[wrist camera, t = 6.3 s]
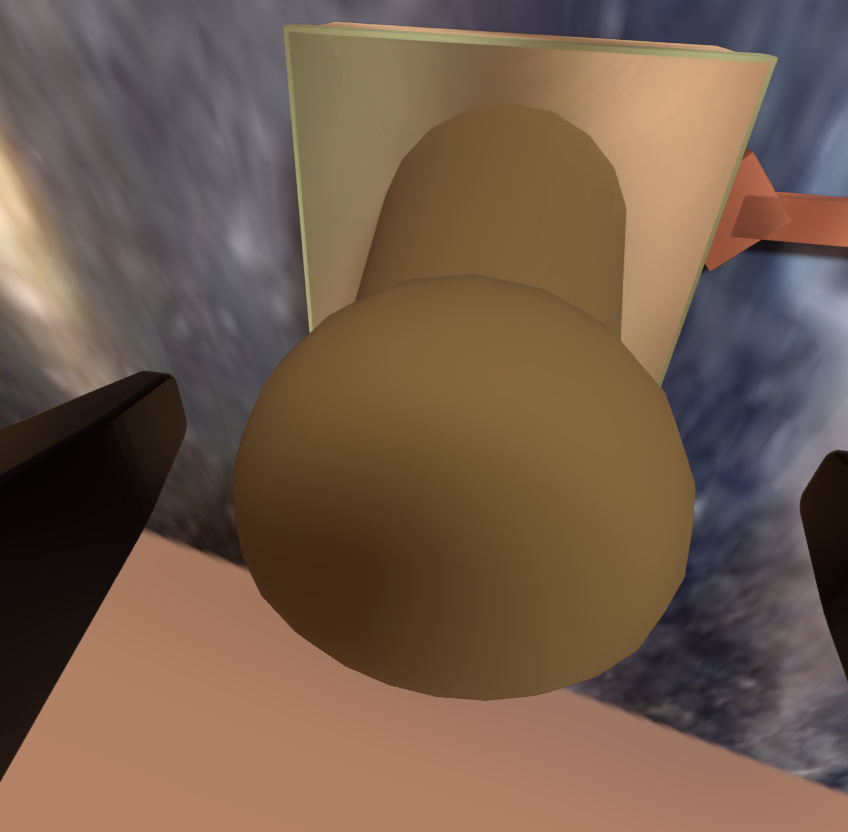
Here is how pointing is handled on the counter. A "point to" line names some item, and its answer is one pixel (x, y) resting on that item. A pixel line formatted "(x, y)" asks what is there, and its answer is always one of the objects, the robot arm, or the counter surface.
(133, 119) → the counter surface
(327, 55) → the tan piece
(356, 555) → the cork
